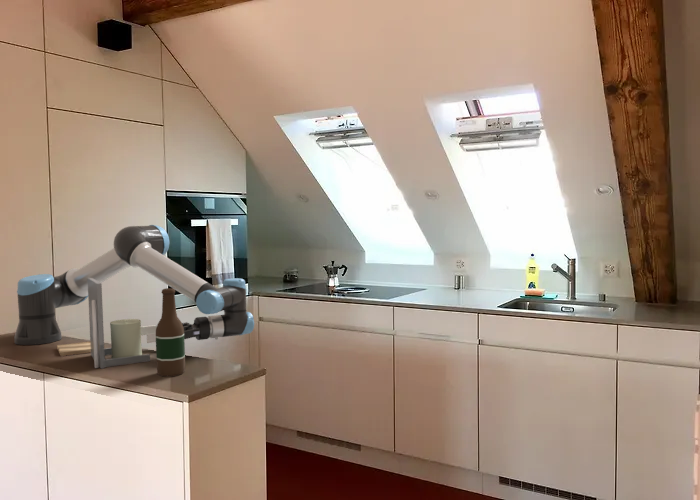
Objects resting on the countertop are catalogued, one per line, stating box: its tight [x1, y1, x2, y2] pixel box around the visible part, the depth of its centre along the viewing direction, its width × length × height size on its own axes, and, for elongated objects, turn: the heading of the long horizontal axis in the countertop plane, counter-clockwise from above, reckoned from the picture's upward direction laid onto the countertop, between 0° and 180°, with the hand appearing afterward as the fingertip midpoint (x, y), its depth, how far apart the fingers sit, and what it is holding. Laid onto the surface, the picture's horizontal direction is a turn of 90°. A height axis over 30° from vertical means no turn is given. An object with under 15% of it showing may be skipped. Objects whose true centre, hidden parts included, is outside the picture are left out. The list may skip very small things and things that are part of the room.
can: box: [109, 318, 143, 359], centre depth 194 cm, size 9×9×12 cm
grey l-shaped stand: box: [87, 278, 151, 369], centre depth 193 cm, size 20×16×25 cm
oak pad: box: [56, 341, 91, 357], centre depth 207 cm, size 13×13×1 cm
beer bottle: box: [155, 287, 186, 378], centre depth 174 cm, size 8×8×24 cm
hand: (142, 334), depth 196 cm, fingers open, 13 cm apart
